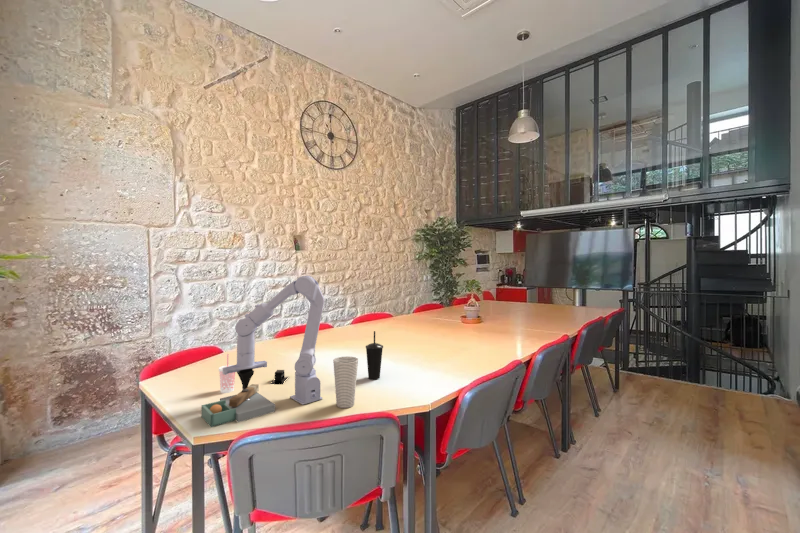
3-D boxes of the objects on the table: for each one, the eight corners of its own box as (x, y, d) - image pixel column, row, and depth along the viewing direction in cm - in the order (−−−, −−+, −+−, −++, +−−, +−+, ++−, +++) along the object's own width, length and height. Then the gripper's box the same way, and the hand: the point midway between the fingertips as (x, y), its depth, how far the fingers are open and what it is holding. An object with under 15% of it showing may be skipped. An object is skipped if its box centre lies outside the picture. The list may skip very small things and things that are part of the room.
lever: (236, 406, 108) (236, 398, 108) (229, 406, 108) (229, 397, 108) (258, 390, 122) (258, 383, 123) (251, 390, 123) (252, 382, 123)
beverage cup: (239, 389, 131) (240, 353, 132) (224, 394, 126) (224, 356, 126) (229, 387, 134) (230, 351, 135) (214, 391, 129) (215, 354, 129)
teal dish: (235, 420, 105) (235, 408, 105) (210, 427, 100) (211, 415, 100) (225, 410, 112) (225, 399, 112) (201, 416, 107) (201, 405, 107)
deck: (274, 411, 111) (274, 404, 111) (237, 422, 103) (238, 414, 103) (254, 397, 124) (254, 390, 124) (219, 405, 116) (219, 398, 116)
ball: (207, 407, 105) (216, 414, 104) (216, 400, 108) (225, 406, 107) (206, 414, 106) (214, 420, 106) (215, 406, 110) (223, 412, 109)
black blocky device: (283, 387, 137) (284, 375, 137) (265, 387, 136) (265, 375, 136) (291, 377, 149) (291, 366, 149) (274, 377, 149) (274, 366, 149)
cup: (327, 404, 117) (328, 359, 118) (348, 398, 123) (348, 355, 124) (342, 412, 111) (342, 364, 112) (362, 405, 117) (363, 359, 117)
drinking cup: (382, 380, 143) (382, 333, 143) (364, 380, 143) (364, 332, 143) (383, 375, 151) (383, 329, 151) (366, 375, 151) (366, 329, 151)
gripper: (261, 347, 129) (261, 383, 128) (220, 353, 119) (219, 392, 118) (269, 350, 123) (268, 388, 123) (226, 357, 113) (225, 398, 113)
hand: (245, 390), depth 120 cm, fingers closed
